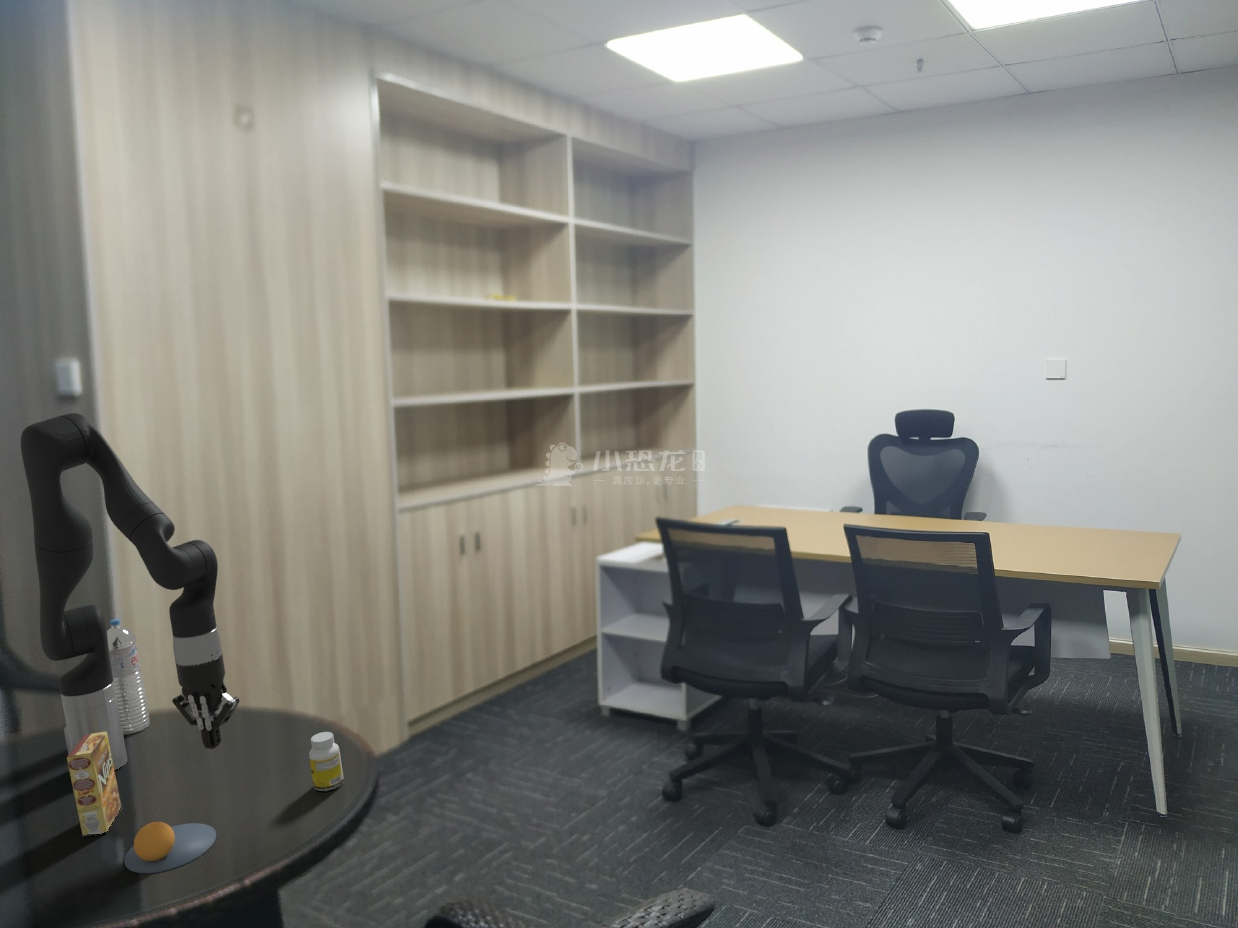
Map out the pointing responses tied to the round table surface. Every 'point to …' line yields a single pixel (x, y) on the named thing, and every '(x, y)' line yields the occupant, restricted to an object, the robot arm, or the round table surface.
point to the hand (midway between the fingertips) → (212, 746)
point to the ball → (154, 841)
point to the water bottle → (127, 679)
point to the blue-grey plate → (176, 849)
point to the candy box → (94, 783)
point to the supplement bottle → (325, 761)
